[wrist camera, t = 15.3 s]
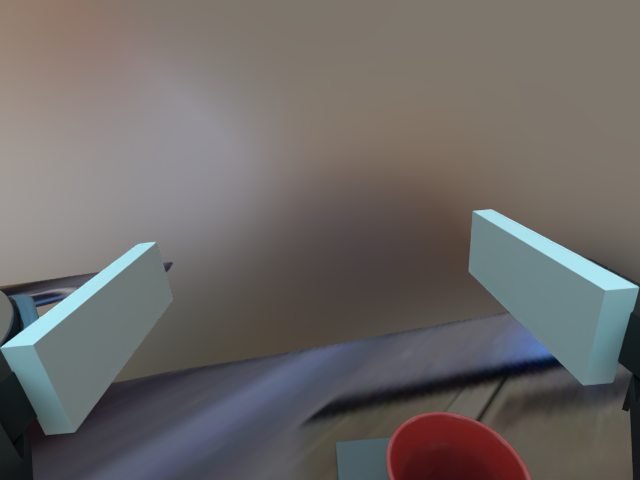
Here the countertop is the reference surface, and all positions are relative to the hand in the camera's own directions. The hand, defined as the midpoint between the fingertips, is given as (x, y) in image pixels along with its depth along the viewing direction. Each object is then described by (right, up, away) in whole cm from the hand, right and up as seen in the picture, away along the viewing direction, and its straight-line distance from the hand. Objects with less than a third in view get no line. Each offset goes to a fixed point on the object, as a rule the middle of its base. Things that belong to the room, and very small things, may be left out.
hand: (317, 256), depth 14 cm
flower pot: (+12, -27, +16) cm, 33 cm away
